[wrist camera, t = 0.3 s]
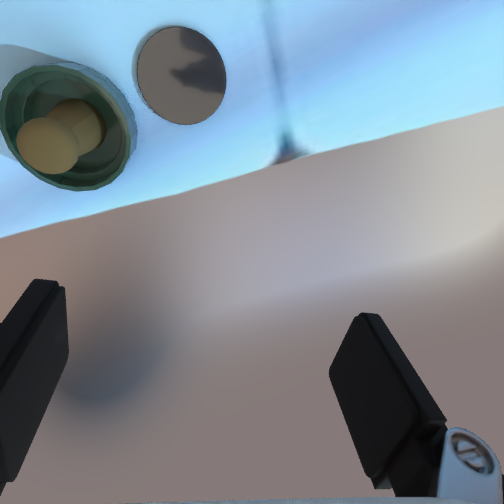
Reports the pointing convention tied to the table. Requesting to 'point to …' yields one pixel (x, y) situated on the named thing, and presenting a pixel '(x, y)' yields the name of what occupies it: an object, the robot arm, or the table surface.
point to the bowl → (53, 92)
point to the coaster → (181, 75)
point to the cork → (61, 136)
